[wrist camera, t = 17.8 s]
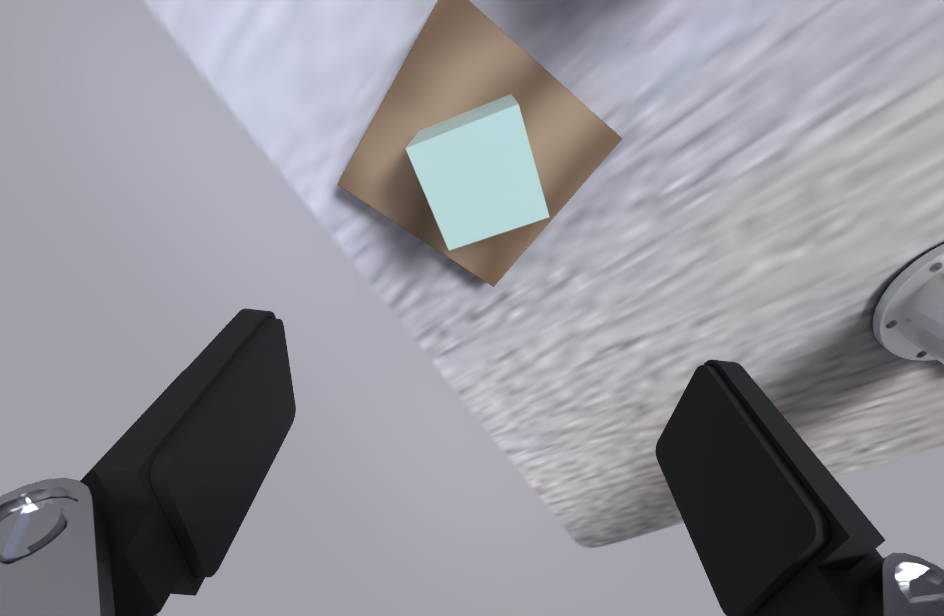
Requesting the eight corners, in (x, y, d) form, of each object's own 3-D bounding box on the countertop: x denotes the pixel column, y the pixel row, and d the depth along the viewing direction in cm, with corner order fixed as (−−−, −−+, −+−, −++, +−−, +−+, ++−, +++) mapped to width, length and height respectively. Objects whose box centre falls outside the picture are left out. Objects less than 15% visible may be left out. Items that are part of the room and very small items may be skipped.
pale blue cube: (511, 93, 26) (518, 103, 21) (537, 189, 29) (549, 217, 24) (418, 130, 27) (405, 148, 22) (453, 218, 31) (448, 250, 26)
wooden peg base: (613, 133, 29) (645, 152, 24) (492, 275, 35) (495, 317, 30) (450, -14, 25) (442, -32, 19) (344, 176, 31) (315, 204, 26)
